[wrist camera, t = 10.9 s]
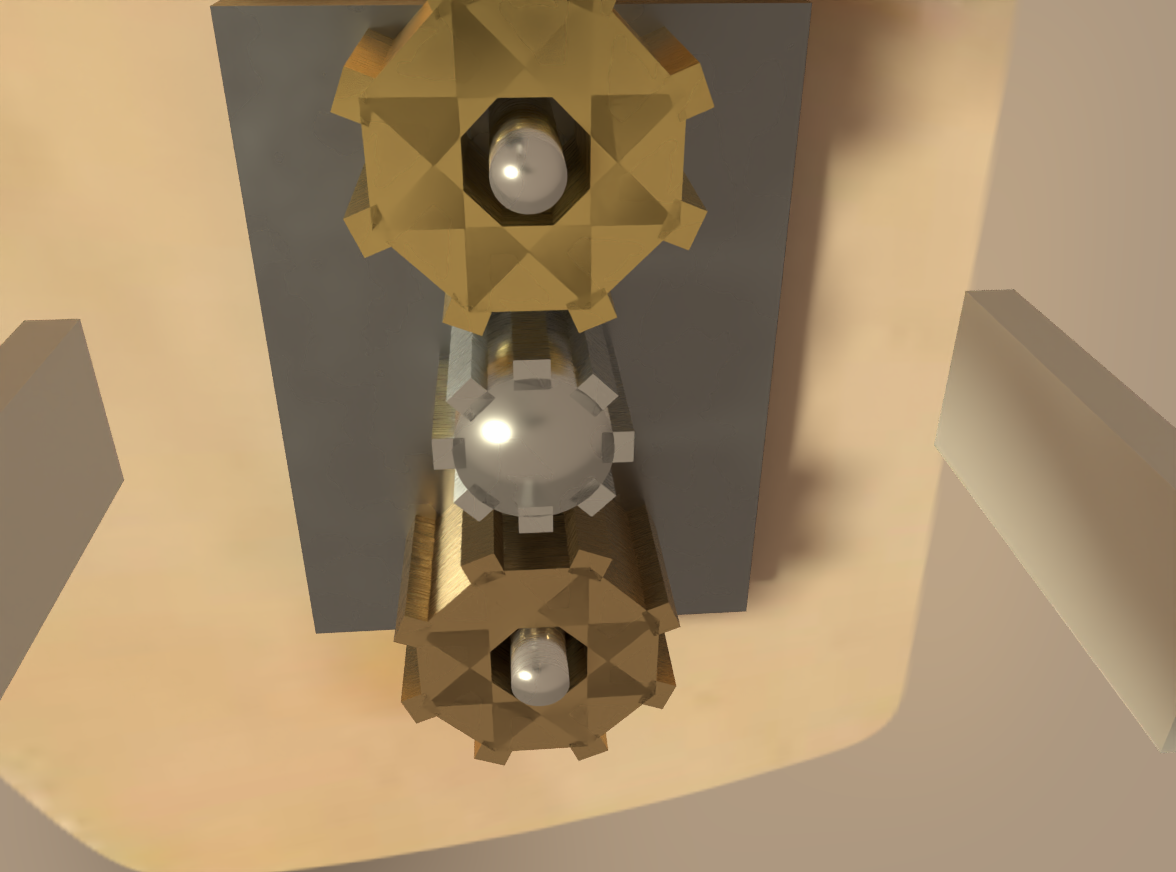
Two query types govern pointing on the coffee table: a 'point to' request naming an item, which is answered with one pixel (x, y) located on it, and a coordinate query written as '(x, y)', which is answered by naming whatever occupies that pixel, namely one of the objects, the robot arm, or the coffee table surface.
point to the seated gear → (534, 624)
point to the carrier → (515, 321)
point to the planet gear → (461, 168)
